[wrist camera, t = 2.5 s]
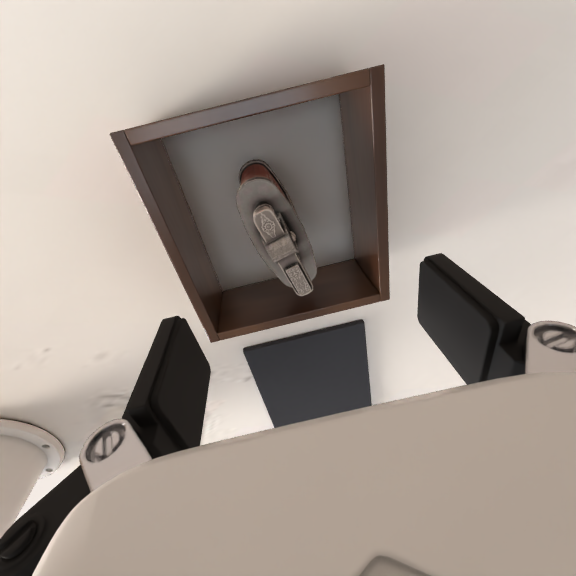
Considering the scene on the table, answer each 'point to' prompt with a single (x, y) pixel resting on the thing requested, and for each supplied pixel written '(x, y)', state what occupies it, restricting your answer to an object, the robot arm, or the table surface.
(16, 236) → the table surface
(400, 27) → the table surface
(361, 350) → the charcoal mat
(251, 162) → the lighter
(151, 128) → the walnut box
